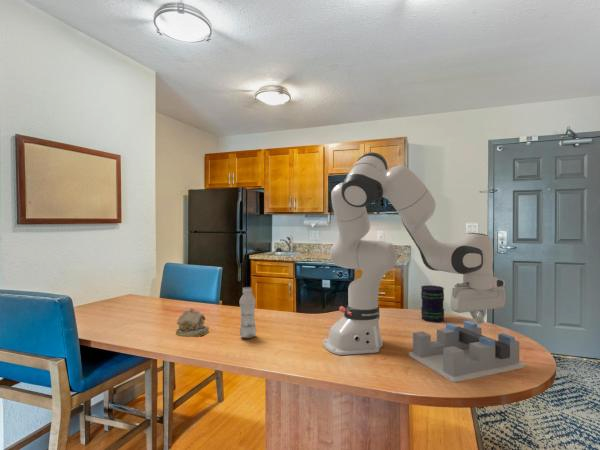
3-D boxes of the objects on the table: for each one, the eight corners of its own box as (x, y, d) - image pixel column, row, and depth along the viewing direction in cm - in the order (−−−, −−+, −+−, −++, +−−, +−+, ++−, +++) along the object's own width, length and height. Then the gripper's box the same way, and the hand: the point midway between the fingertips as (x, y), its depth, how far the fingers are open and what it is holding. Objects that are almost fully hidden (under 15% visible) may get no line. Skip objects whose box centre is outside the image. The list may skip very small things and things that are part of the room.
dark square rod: (501, 359, 98) (501, 347, 98) (450, 337, 117) (450, 327, 117) (510, 357, 99) (510, 345, 99) (458, 335, 118) (458, 326, 118)
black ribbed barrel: (421, 321, 148) (420, 288, 148) (421, 315, 158) (421, 284, 157) (444, 323, 145) (444, 290, 145) (443, 317, 154) (443, 286, 154)
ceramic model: (169, 335, 135) (169, 311, 134) (186, 326, 145) (185, 304, 145) (199, 338, 131) (199, 313, 131) (214, 329, 142) (213, 306, 141)
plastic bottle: (259, 335, 132) (258, 286, 132) (250, 341, 126) (249, 290, 126) (246, 333, 135) (245, 285, 135) (236, 339, 129) (235, 288, 129)
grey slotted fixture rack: (453, 382, 92) (453, 349, 92) (408, 355, 111) (408, 327, 111) (524, 367, 101) (524, 337, 101) (472, 344, 120) (472, 319, 120)
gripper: (460, 285, 101) (460, 329, 102) (509, 281, 108) (509, 322, 108) (445, 282, 107) (445, 323, 108) (492, 277, 114) (492, 317, 114)
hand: (478, 323), depth 108 cm, fingers closed
